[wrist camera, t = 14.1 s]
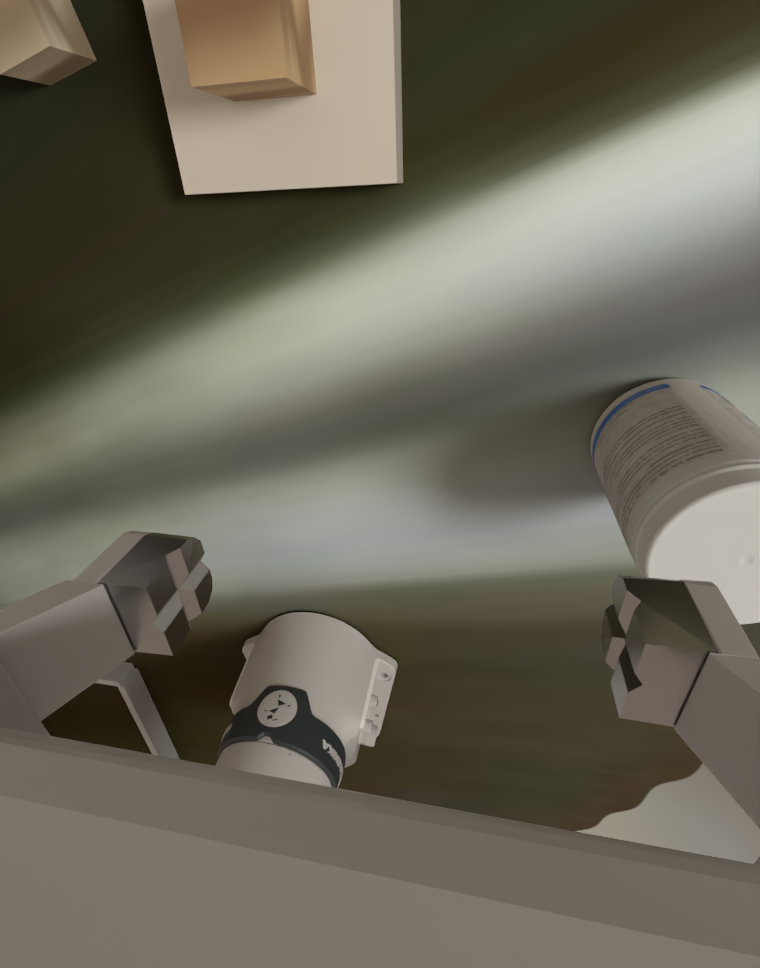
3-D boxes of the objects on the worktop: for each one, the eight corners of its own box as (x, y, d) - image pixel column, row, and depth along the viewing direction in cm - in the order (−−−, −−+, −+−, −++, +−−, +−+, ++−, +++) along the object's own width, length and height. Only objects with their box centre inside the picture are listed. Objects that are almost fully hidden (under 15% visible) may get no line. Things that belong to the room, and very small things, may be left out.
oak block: (316, 94, 27) (285, 77, 23) (235, 101, 28) (191, 86, 24) (305, -30, 25) (268, -74, 21) (216, -17, 26) (163, -57, 22)
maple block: (97, 60, 31) (49, 45, 27) (51, 85, 32) (0, 74, 29) (60, -23, 29) (5, -49, 26) (13, 7, 30) (-46, -15, 27)
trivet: (403, 183, 31) (397, 183, 29) (203, 194, 34) (185, 194, 32) (397, -152, 24) (388, -184, 22) (144, -105, 26) (114, -130, 24)
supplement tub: (582, 488, 40) (624, 623, 28) (594, 377, 35) (652, 480, 23) (715, 488, 38) (825, 635, 25) (747, 370, 33) (902, 479, 21)
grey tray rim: (187, 774, 80) (177, 793, 78) (53, 749, 85) (40, 766, 83) (135, 663, 66) (121, 682, 63) (-23, 640, 71) (-41, 657, 68)
